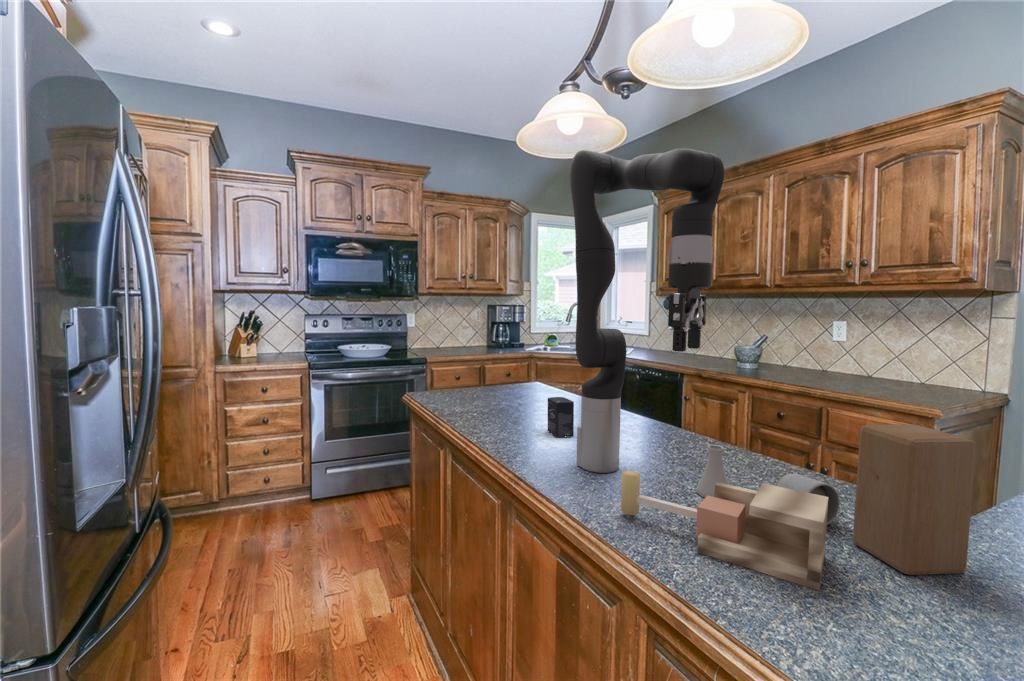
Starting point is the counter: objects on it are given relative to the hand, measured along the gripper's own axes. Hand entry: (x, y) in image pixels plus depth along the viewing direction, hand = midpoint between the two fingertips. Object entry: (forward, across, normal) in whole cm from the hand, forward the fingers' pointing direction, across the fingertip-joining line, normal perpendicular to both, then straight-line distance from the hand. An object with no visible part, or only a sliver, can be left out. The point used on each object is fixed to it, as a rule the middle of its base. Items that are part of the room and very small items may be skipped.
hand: (686, 349), depth 87 cm
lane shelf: (+30, +9, +16) cm, 35 cm away
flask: (+31, -11, +3) cm, 33 cm away
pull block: (+29, +10, +3) cm, 31 cm away
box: (+31, -30, -46) cm, 63 cm away
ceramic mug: (+31, -10, +18) cm, 37 cm away
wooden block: (+31, -4, +33) cm, 45 cm away
